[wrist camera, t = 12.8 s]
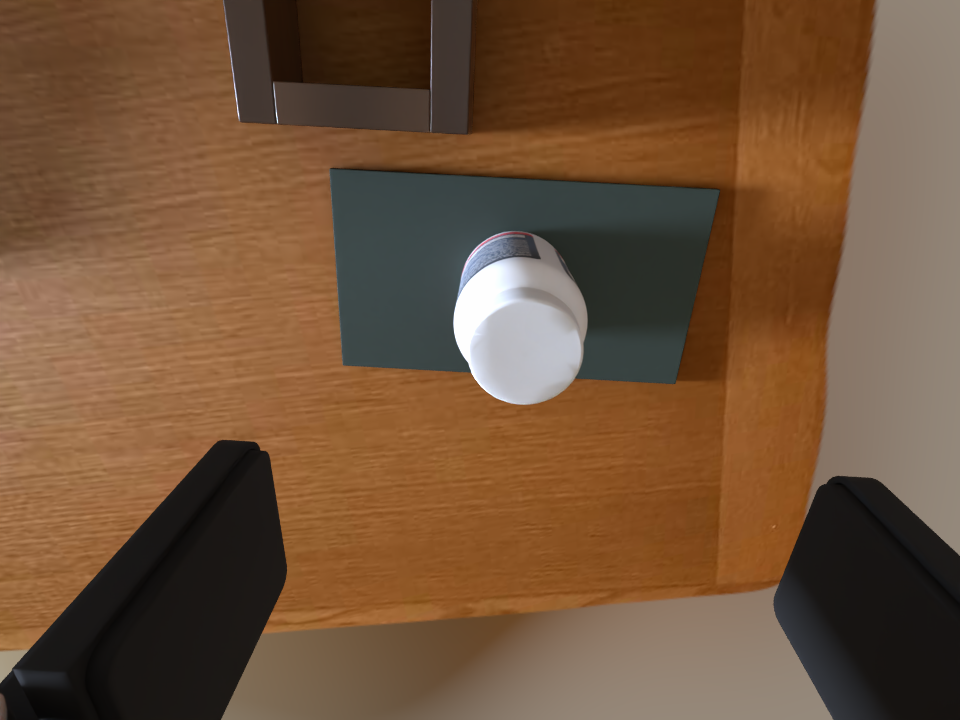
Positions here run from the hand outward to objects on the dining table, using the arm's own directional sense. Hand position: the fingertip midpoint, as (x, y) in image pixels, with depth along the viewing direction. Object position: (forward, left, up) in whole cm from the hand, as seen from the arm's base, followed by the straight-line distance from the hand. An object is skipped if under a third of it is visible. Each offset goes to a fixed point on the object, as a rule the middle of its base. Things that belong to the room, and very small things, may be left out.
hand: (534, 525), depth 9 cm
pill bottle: (0, +1, -18) cm, 18 cm away
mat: (0, +1, -18) cm, 18 cm away
